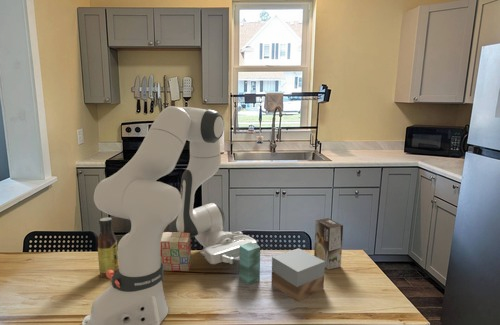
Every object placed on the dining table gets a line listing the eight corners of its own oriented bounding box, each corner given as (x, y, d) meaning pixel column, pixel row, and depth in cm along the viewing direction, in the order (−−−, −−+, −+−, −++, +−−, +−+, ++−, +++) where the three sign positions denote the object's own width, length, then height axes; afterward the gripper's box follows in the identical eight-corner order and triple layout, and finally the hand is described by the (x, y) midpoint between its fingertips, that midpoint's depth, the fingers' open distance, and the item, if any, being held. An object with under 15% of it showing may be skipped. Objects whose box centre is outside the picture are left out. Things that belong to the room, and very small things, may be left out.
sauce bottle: (119, 276, 116) (116, 221, 112) (99, 280, 113) (95, 223, 110) (118, 267, 122) (115, 215, 118) (99, 271, 119) (95, 217, 115)
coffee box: (341, 266, 125) (344, 225, 122) (327, 270, 122) (330, 228, 119) (326, 256, 133) (328, 217, 130) (312, 259, 130) (314, 219, 127)
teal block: (248, 284, 111) (248, 250, 109) (239, 278, 115) (239, 245, 113) (259, 280, 114) (260, 247, 112) (250, 274, 118) (251, 242, 116)
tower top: (297, 287, 102) (297, 271, 101) (271, 271, 111) (272, 256, 110) (324, 275, 109) (324, 261, 108) (298, 261, 118) (298, 248, 117)
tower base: (298, 302, 102) (298, 287, 102) (271, 285, 112) (271, 271, 111) (323, 289, 110) (324, 275, 109) (296, 274, 119) (297, 261, 118)
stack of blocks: (129, 270, 120) (124, 241, 116) (134, 259, 126) (130, 231, 121) (189, 271, 120) (187, 241, 116) (191, 260, 126) (190, 231, 122)
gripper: (197, 243, 120) (218, 257, 109) (243, 230, 132) (266, 242, 122) (198, 259, 121) (218, 275, 110) (243, 245, 133) (266, 258, 123)
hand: (244, 257), depth 116 cm, fingers open, 8 cm apart
